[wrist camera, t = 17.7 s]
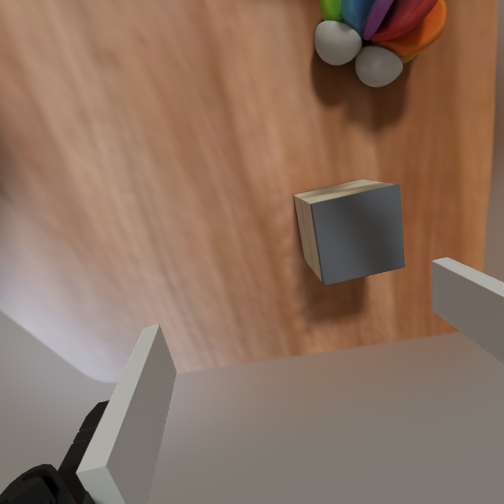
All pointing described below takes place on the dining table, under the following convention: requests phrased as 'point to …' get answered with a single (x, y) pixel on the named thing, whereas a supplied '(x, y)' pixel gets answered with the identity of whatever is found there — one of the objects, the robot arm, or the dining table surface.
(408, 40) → the rainbow segmented toy
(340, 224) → the birch cube
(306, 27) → the dining table surface
